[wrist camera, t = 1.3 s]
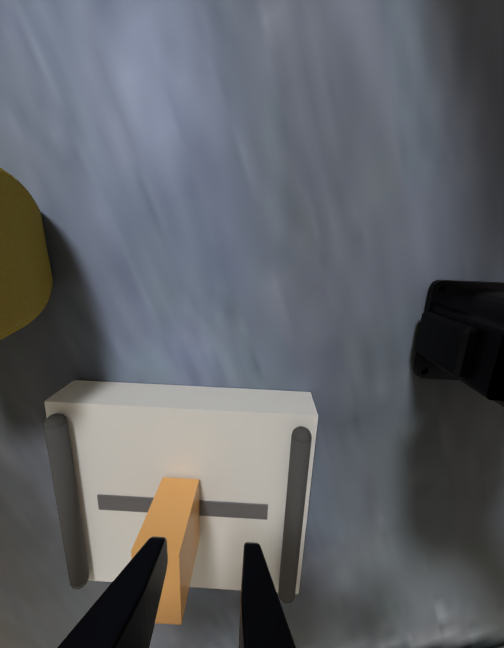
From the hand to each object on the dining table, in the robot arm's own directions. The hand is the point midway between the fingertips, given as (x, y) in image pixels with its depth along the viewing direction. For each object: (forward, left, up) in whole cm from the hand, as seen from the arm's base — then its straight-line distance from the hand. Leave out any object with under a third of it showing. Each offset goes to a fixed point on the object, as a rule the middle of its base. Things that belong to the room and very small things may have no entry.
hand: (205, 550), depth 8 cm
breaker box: (+3, +10, -13) cm, 16 cm away
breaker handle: (+3, +10, -10) cm, 14 cm away
